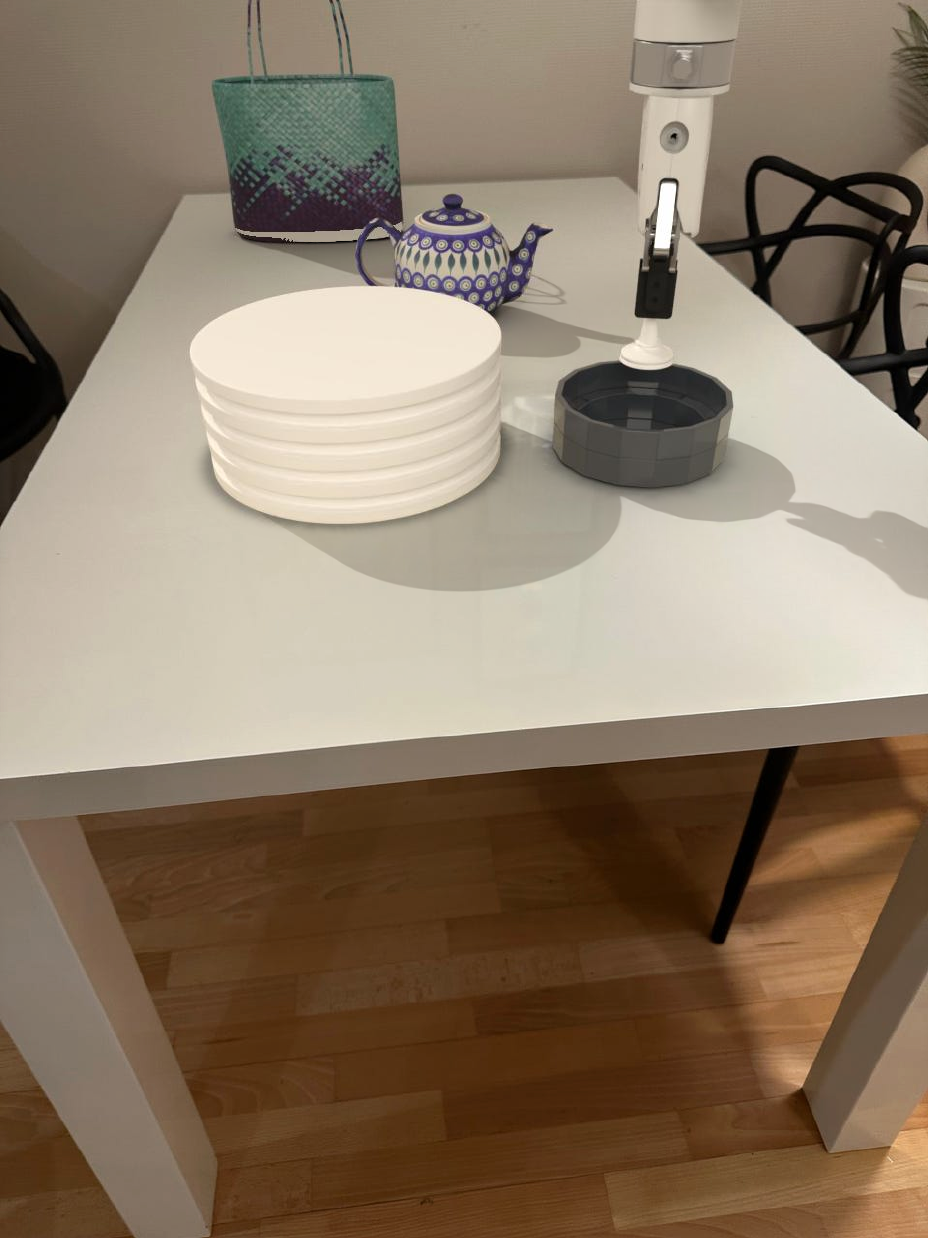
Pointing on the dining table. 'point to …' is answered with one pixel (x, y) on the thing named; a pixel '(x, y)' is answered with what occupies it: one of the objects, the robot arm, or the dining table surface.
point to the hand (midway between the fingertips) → (653, 309)
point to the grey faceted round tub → (641, 423)
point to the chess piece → (647, 349)
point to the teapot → (458, 255)
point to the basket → (309, 148)
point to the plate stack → (351, 402)
